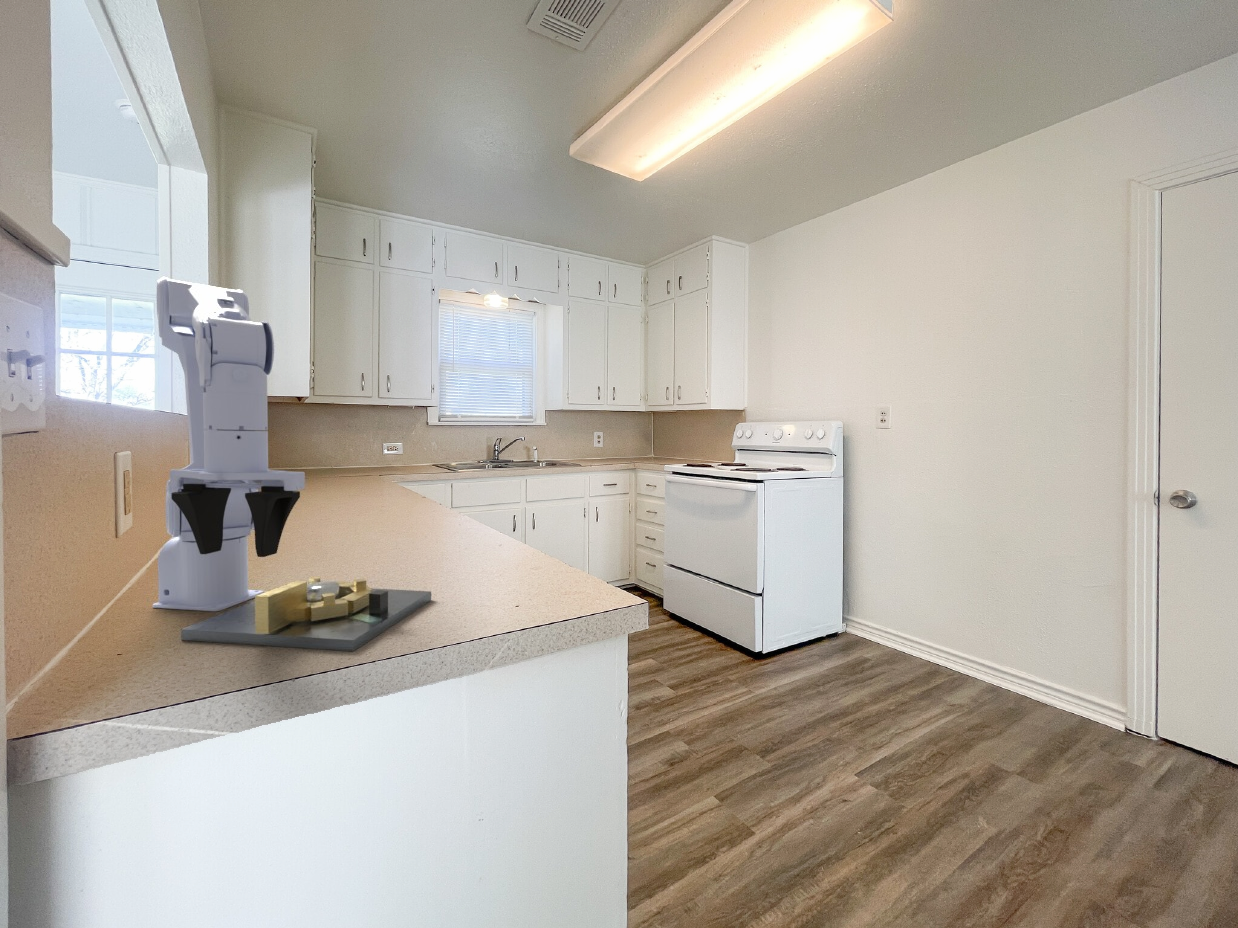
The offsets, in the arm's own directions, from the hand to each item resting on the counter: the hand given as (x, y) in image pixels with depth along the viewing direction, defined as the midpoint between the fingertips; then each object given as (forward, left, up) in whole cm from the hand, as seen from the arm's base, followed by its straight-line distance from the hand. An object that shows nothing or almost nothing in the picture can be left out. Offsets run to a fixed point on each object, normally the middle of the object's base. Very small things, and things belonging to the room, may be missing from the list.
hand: (238, 553), depth 59 cm
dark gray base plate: (+5, +7, -9) cm, 13 cm away
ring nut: (+5, +5, -8) cm, 11 cm away
